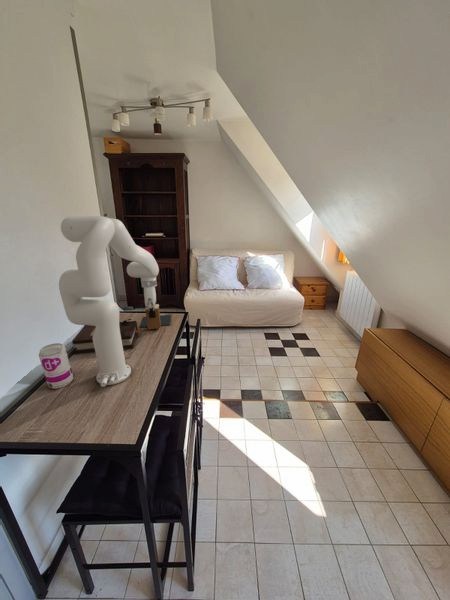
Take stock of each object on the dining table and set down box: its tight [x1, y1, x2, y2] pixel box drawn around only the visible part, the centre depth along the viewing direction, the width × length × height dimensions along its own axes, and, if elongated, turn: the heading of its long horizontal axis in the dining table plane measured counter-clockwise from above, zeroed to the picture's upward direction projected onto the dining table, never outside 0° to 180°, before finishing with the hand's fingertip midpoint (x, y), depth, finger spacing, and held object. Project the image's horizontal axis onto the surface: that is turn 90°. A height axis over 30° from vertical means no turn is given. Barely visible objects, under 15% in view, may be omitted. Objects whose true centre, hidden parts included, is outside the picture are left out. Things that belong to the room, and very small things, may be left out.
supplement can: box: [38, 342, 74, 390], centre depth 92 cm, size 8×8×15 cm
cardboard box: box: [144, 303, 162, 330], centre depth 134 cm, size 5×7×12 cm
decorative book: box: [71, 318, 142, 355], centre depth 122 cm, size 19×8×30 cm
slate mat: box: [139, 314, 171, 329], centre depth 146 cm, size 14×16×1 cm
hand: (153, 315), depth 134 cm, fingers closed on cardboard box, 5 cm apart
